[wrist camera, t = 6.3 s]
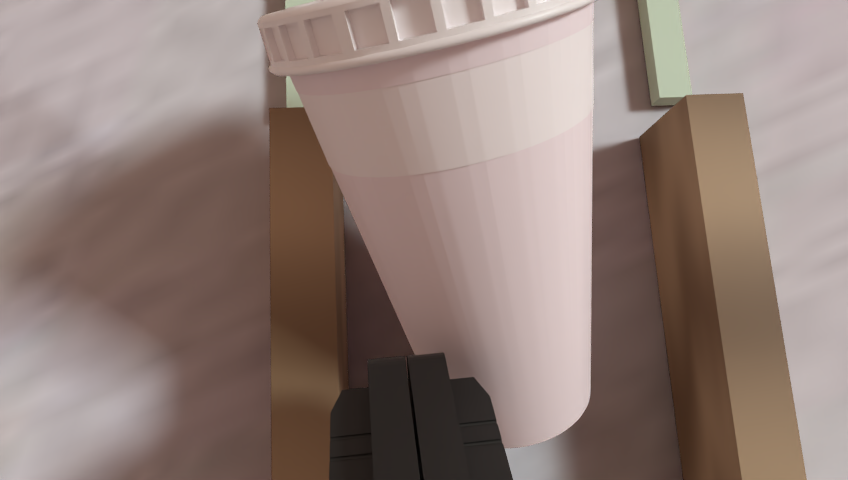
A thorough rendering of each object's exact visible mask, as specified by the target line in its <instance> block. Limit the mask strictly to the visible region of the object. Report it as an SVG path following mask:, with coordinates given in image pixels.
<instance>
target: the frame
mask: <svg viewBox="0 0 848 480" xmlns="http://www.w3.org/2000/svg"><path fill="white" fill-rule="evenodd" d="M313 1H317V0H285V9H287V8H289V7H293V6H297V5H301V4H305V3H309V2H313ZM637 2H638V9H639V17H640V24H641V32H642V39H643V47H644V54H645V62H646V69H647V77H648V84H649V92H650V99H651V106H665V105H676V104H677V103H678V102H679V101H680V100H681V99H682V98H683V97H684V96H686V95H692V90H691V83H690V76H689V70H688V63H687V56H686V49H685V43H684V36H683V29H682V22H681V16H680V9H679V2H678V0H637ZM293 107H304V106H303V104H302V101H301V99H300V97H299V94H298V92H297V91H296V89H295V87H294V85H293V82H292V80H291V78H290V76H286V108H293Z"/></svg>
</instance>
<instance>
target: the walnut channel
mask: <svg viewBox="0 0 848 480" xmlns="http://www.w3.org/2000/svg"><path fill="white" fill-rule="evenodd" d="M269 118H270V293H271V468H272V480H329V463H330V458H329V457H330V412H331V411H332V409H333V407H334V405H335V403H336V401H337V399H338V397H339V395H340V393H341V391H342V390H347V389H349V381H348V347H347V313H346V280H345V246H344V212H343V194H342V192H341V189H340V187H339V185H338V183H337V180H336V178H335V176H334V174H333V172H332V169H331V167H330V166H329V164H328V162H327V160H326V157H325V155H324V153H323V150H322V148H321V146H320V143H319V141H318V139H317V136H316V134H315V132H314V129H313V127H312V125H311V122H310V120H309V118H308V115H307V113H306V111H305V108H304V107H293V108H269ZM639 138H640V146H641V154H642V162H643V169H644V177H645V185H646V193H647V201H648V208H649V216H650V224H651V232H652V240H653V247H654V255H655V263H656V271H657V279H658V286H659V294H660V302H661V310H662V318H663V325H664V333H665V341H666V349H667V357H668V364H669V372H670V380H671V388H672V396H673V403H674V411H675V419H676V427H677V435H678V442H679V450H680V458H681V466H682V474H683V480H807V479H806V473H805V467H804V461H803V455H802V449H801V442H800V436H799V430H798V424H797V418H796V412H795V406H794V400H793V394H792V388H791V382H790V376H789V370H788V364H787V358H786V351H785V345H784V339H783V333H782V327H781V321H780V315H779V309H778V303H777V297H776V291H775V285H774V279H773V273H772V267H771V260H770V254H769V248H768V242H767V236H766V230H765V224H764V218H763V212H762V206H761V200H760V194H759V188H758V182H757V176H756V170H755V163H754V157H753V151H752V145H751V139H750V133H749V127H748V121H747V115H746V109H745V103H744V97H743V93H736V94H704V95H686V96H684V97H683V98H682V99H681V100H680V101H679V102H678V103H677V104H676V105H674V106H673V107H672V108H671V109H670V110H669V111H668V112H667V113H666V114H665V115H663V116H662V117H661V118H660V119H659V120H658V121H657V122H656V123H655V124H654V125H652V126H651V127H650V128H649V129H648V130H647V131H646V132H645V133H644V134H642V135H641V136H640V137H639Z"/></svg>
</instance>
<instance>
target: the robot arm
mask: <svg viewBox="0 0 848 480" xmlns="http://www.w3.org/2000/svg"><path fill="white" fill-rule="evenodd" d="M407 370H408V379H407V371H406V363H405V357H404V356H399V357H389V358H379V359H369V360H368V380H369V387H367V388H357V389H347V390H342V391H341V393H340V395H339V397H338V399H337V401H336V403H335V405H334V407H333V409H332V411H331V412H330V457H329V458H330V463H329V480H513V478H512V474H511V471H510V467H509V463H508V460H507V456H506V453H505V449H504V445H503V444H502V438H501V434H500V431H499V427H498V424H497V422H496V416H495V413H494V409H493V405H492V402H491V398H490V395H489V394H488V393H487V392H486V391H485V390H484V388H483V387H482V386H481V385H480V384H479V383H478V381H477V380H476V379H475V378H474V377H467V378H457V379H450V377H449V372H448V368H447V363H446V358H445V354H444V352H442V353H432V354H421V355H411V356H407Z"/></svg>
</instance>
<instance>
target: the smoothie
mask: <svg viewBox="0 0 848 480" xmlns="http://www.w3.org/2000/svg"><path fill="white" fill-rule="evenodd" d="M595 1H597V0H317V1H313V2H309V3H305V4H301V5H297V6H293V7H289V8H287V9H284V10H280V11H276V12H273V13H269V14H266V15H263V16H262V17H260V18H259V20H258V23H257V24H258V27H259V30H260V33H261V36H262V39H263V42H264V45H265V48H266V51H267V54H268V57H269V61H270V64H271V65H270V66H269V71H270V72H271V73H273V74H274V75H276V76H290V78H291V80H292V82H293V85H294V87H295V89H296V91H297V92H298V94H299V97H300V99H301V101H302V104H303V106H304V108H305V111H306V113H307V115H308V118H309V120H310V122H311V125H312V127H313V129H314V132H315V134H316V136H317V139H318V141H319V143H320V146H321V148H322V150H323V153H324V155H325V157H326V160H327V162H328V164H329V166H330V167H331V169H332V172H333V174H334V176H335V178H336V180H337V183H338V185H339V187H340V189H341V192H342V194H343V196H344V198H345V200H346V203H347V205H348V207H349V209H350V212H351V214H352V216H353V218H354V221H355V223H356V225H357V227H358V229H359V232H360V234H361V236H362V238H363V241H364V243H365V245H366V247H367V249H368V252H369V254H370V256H371V258H372V261H373V263H374V265H375V267H376V270H377V272H378V274H379V276H380V278H381V281H382V283H383V285H384V287H385V290H386V292H387V294H388V296H389V299H390V301H391V303H392V305H393V307H394V310H395V312H396V314H397V316H398V319H399V321H400V323H401V325H402V327H403V330H404V332H405V334H406V336H407V339H408V341H409V343H410V345H411V348H412V350H413V352H414V354H415V355H421V354H432V353H442V352H444V354H445V358H446V363H447V368H448V372H449V377H450V379H457V378H467V377H474V378H475V379H476V380H477V381H478V383H479V384H480V385H481V386H482V387H483V388H484V390H485V391H486V392H487V393H488V394H489V395H490V398H491V402H492V405H493V409H494V413H495V416H496V422H497V424H498V427H499V431H500V434H501V438H502V444H503V445H504V448H518V447H525V446H530V445H534V444H537V443H541V442H544V441H546V440H549V439H551V438H553V437H555V436H557V435H559V434H561V433H562V432H564V431H565V430H567V429H568V428H569V427H571V426H572V425H573V424H574V423H575V422H576V421H577V420H578V419H579V418H580V417H581V415H582V414H583V413H584V411H585V409H586V407H587V405H588V403H589V399H590V393H591V281H592V158H593V105H594V82H593V20H594V2H595Z"/></svg>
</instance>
